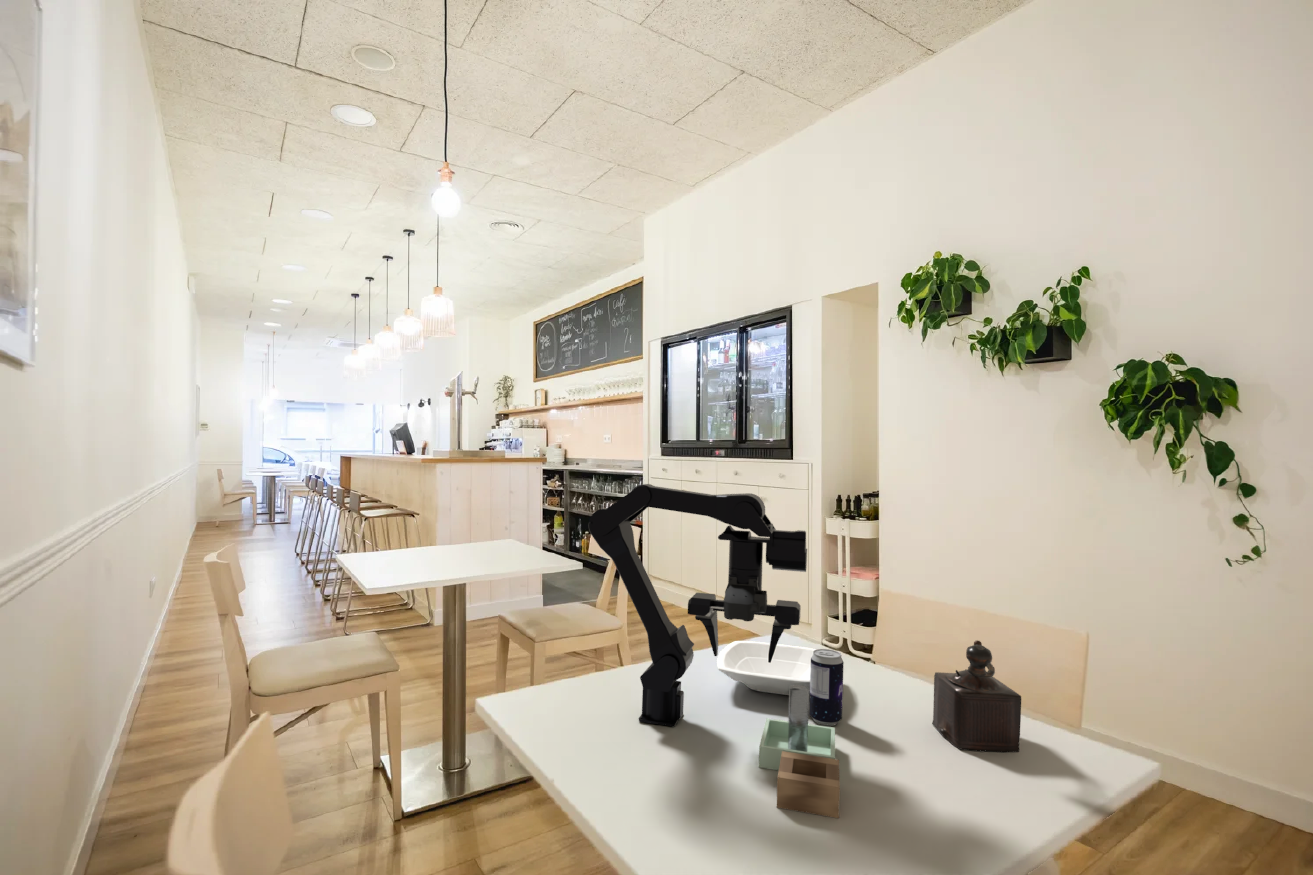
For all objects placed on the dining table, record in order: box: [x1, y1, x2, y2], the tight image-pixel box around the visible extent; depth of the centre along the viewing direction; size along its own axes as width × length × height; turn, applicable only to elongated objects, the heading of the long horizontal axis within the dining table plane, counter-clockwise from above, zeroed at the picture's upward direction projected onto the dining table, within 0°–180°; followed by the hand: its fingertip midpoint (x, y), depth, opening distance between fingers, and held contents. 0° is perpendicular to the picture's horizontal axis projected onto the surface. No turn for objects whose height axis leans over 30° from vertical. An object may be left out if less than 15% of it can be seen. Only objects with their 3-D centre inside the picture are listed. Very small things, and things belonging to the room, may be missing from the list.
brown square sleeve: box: [776, 751, 841, 819], centre depth 90 cm, size 8×8×4 cm
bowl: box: [716, 640, 817, 696], centre depth 132 cm, size 22×23×6 cm
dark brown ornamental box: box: [931, 639, 1022, 753], centre depth 109 cm, size 16×11×18 cm
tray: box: [758, 717, 836, 771], centre depth 102 cm, size 11×11×3 cm
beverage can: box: [808, 648, 845, 727], centre depth 116 cm, size 6×6×12 cm
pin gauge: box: [788, 685, 810, 752], centre depth 102 cm, size 3×3×10 cm
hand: (742, 658), depth 111 cm, fingers open, 9 cm apart
